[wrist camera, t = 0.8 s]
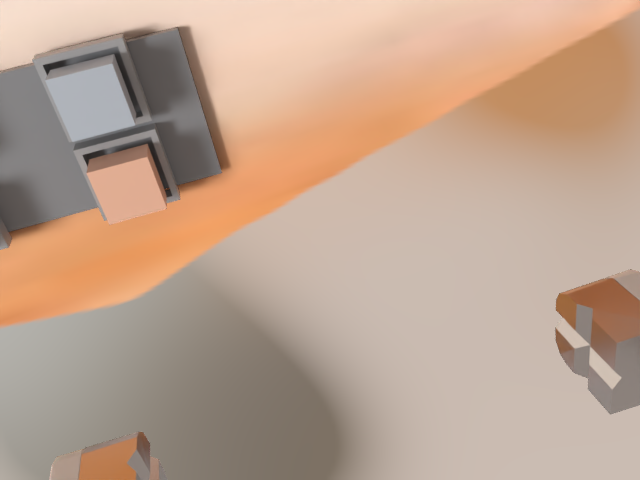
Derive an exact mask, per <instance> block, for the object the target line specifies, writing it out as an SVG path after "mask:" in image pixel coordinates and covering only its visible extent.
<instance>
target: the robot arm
mask: <svg viewBox="0 0 640 480" xmlns="http://www.w3.org/2000/svg"><path fill="white" fill-rule="evenodd" d="M556 311H557V312H558V313H559V314H560V315H561V316H562V318H561V320H560V321H559V323H558V324H557V326H556V327H555V332H556V343H557V346H558V349H559V352H560V354H561V356H562V358H563V359H564V360H565V363H566V364H567V365H568V366H569V367H570V369H571V370H572V371H573V372H574V373H576V374H578V375H581V376H583V377H586V378H588V389H589V391H590V392H591V393H592V394H593V395H594V397H595V398H596V399H597V400H598V401H599V402H600V403H601V405H602V406H603V407H604V408H605V409H606V410H607V411H608V412H609V413H610V414H613V413H616V412H619V411H622V410H626V409H629V408H632V407H635V406H638V405H640V272H638V271H635V270H632V269H630V270H627V271H624V272H621V273H618V274H615V275H612V276H609V277H607V278H605V279H601V280H598V281H595V282H592V283H589V284H586V285H583V286H581V287H577V288H574V289H571V290H568V291H566V292H562V293H559V295H558V297H557V299H556ZM50 480H167V478H166V475H165V472H164V469H163V467H162V465H161V463H160V461H159V459H156V458H153V457H151V456H150V443H149V441H148V440H147V438H146V436H145V434H144V433H143V432H136V433H132V434H129V435H126V436H122V437H119V438H116V439H112V440H109V441H106V442H103V443H99V444H96V445H93V446H89V447H86V448H85V449H82V450H78V451H75V452H71V453H68V454H65V455H61V456H58V457H57V458H56V460H55V461H54V463H53V465H52V468H51V474H50Z"/></svg>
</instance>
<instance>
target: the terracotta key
mask: <svg viewBox="0 0 640 480" xmlns="http://www.w3.org/2000/svg"><path fill="white" fill-rule="evenodd" d="M86 174H87V176H88V178H89V180H90V183H91V185H92V187H93V189H94V192H95V194H96V196H97V198H98V200H99V203H100V205H101V207H102V209H103V212H104V214H105V216H106V218H107V221H108V223H109V225H111V224H114V223H118V222H122V221H125V220H129V219H132V218H136V217H139V216H143V215H147V214H150V213H154V212H157V211H161V210H164V209H167V201H166V192H165V190H164V187H163V184H162V182H161V179H160V176H159V174H158V171H157V168H156V166H155V163H154V160H153V157H152V155H151V152H150V149H149V147H148V144H145V145H141V146H137V147H134V148H130V149H126V150H122V151H119V152H115V153H111V154H107V155H104V156H100V157H96V158H92V159H89V163H88V168H87V173H86Z"/></svg>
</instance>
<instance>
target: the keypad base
mask: <svg viewBox="0 0 640 480" xmlns="http://www.w3.org/2000/svg"><path fill="white" fill-rule="evenodd" d="M112 54H114V55H115V58H116V61H117V63H118V66H119V69H120V71H121V74H122V77H123V80H124V82H125V85H126V88H127V90H128V93H129V96H130V98H131V101H132V104H133V106H134V109H135V112H136V125H135V126H131V127H128V128H124V129H120V130H116V131H112V132H109V133H105V134H101V135H97V136H93V137H90V138H86V139H82V140H78V141H75V142H72V140H71V138H70V135H69V133H68V131H67V129H66V126H65V124H64V122H63V120H62V118H61V115H60V113H59V111H58V109H57V106H56V104H55V102H54V100H53V97H52V95H51V93H50V91H49V88H48V86H47V84H46V82H45V79H46V77H47V76H48V74H49V72H50V70H52V69H56V68H60V67H64V66H68V65H72V64H76V63H80V62H84V61H88V60H92V59H96V58H100V57H104V56H108V55H112ZM32 61H33V63H31V64H27V65H23V66H19V67H15V68H11V69H7V70H3V71H0V250H1V249H5V248H8V247H9V246H10V243H11V240H12V237H11V236H10V234H9V232H10V231H14V230H18V229H21V228H25V227H28V226H32V225H36V224H39V223H43V222H47V221H50V220H54V219H57V218H61V217H65V216H68V215H72V214H76V213H79V212H83V211H86V210H90V209H94V208H97V207H98V208H99V210H100V212H101V214H102V216H103V219H104V221H105V220H107V218H106V216H105V214H104V212H103V209H102V207H101V205H100V203H99V200H98V198H97V196H96V194H95V192H94V189H93V187H92V185H91V183H90V180H89V178H88V176H87V174H86V173H87V168H88V163H89V159H92V158H96V157H100V156H104V155H107V154H111V153H115V152H119V151H122V150H126V149H130V148H134V147H137V146H141V145H145V144H148V147H149V149H150V152H151V155H152V157H153V160H154V163H155V166H156V168H157V171H158V174H159V176H160V179H161V182H162V184H163V187H164V189H166V188H170V189H169V190H165V192H166V201H167V203H170V202H173V201H177V200H180V192H179V189H178V186H177V185H180V184H184V183H188V182H191V181H195V180H198V179H202V178H206V177H209V176H213V175H217V174H220V173H222V171H221V168H220V164H219V161H218V158H217V155H216V151H215V148H214V145H213V142H212V138H211V135H210V132H209V129H208V125H207V122H206V119H205V116H204V112H203V109H202V106H201V102H200V99H199V96H198V93H197V89H196V86H195V83H194V80H193V76H192V73H191V70H190V67H189V63H188V60H187V57H186V54H185V50H184V47H183V44H182V41H181V37H180V34H179V31H178V28H177V27H176V28H172V29H168V30H164V31H160V32H156V33H152V34H147V35H143V36H139V37H135V38H131V39H127V40H125V38H124V35H123V33H122V34H118V35H114V36H110V37H106V38H102V39H98V40H94V41H90V42H85V43H81V44H77V45H73V46H69V47H65V48H61V49H57V50H53V51H49V52H45V53H41V54H37V55H35V56H34V58H33V59H32Z"/></svg>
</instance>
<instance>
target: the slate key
mask: <svg viewBox="0 0 640 480" xmlns="http://www.w3.org/2000/svg"><path fill="white" fill-rule="evenodd" d="M45 82H46V84H47V86H48V88H49V91H50V93H51V95H52V97H53V100H54V102H55V104H56V106H57V109H58V111H59V113H60V115H61V118H62V120H63V122H64V124H65V126H66V129H67V131H68V133H69V135H70V138H71V140H72V142H75V141H78V140H82V139H86V138H90V137H93V136H97V135H101V134H105V133H109V132H112V131H116V130H120V129H124V128H128V127H131V126H135V125H136V112H135V109H134V106H133V104H132V101H131V98H130V96H129V93H128V90H127V88H126V85H125V82H124V80H123V77H122V74H121V71H120V69H119V66H118V63H117V61H116V58H115V55H114V54H112V55H108V56H104V57H100V58H96V59H92V60H88V61H84V62H80V63H76V64H72V65H68V66H64V67H60V68H56V69H52V70H50V72H49V74H48V76H47V77H46V79H45Z"/></svg>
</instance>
